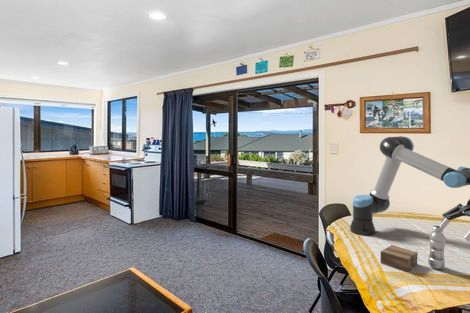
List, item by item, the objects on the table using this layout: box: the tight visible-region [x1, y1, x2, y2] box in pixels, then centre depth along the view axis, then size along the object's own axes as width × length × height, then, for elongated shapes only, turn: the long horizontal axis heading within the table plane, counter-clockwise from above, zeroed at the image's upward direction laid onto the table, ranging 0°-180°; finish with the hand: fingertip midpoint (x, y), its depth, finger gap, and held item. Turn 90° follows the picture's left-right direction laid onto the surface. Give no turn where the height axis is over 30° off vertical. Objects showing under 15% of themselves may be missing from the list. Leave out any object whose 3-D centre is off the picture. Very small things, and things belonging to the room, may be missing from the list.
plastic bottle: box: [427, 225, 447, 270], centre depth 129 cm, size 6×7×20 cm
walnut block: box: [380, 244, 419, 273], centre depth 135 cm, size 12×12×6 cm
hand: (452, 234), depth 129 cm, fingers open, 13 cm apart
